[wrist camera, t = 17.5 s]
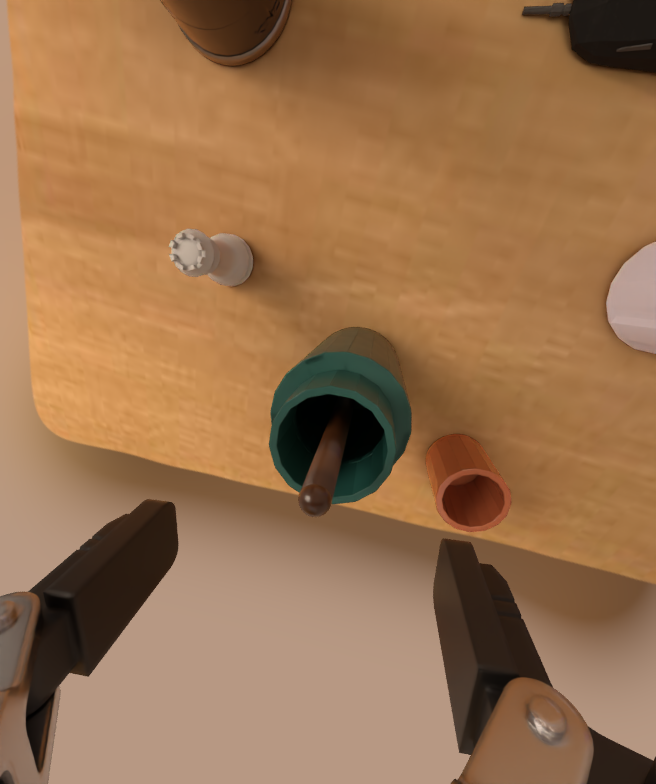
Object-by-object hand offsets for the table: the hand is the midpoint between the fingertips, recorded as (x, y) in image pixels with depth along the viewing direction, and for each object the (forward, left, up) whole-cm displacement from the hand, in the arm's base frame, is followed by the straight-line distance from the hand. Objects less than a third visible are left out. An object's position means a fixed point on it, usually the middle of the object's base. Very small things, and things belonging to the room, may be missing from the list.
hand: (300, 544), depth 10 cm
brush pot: (+13, -2, -24) cm, 27 cm away
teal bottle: (0, 0, -24) cm, 24 cm away
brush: (0, 0, -23) cm, 23 cm away
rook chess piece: (-15, +2, -24) cm, 29 cm away
